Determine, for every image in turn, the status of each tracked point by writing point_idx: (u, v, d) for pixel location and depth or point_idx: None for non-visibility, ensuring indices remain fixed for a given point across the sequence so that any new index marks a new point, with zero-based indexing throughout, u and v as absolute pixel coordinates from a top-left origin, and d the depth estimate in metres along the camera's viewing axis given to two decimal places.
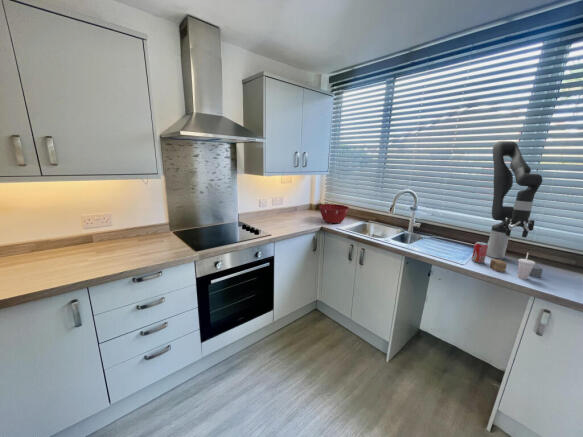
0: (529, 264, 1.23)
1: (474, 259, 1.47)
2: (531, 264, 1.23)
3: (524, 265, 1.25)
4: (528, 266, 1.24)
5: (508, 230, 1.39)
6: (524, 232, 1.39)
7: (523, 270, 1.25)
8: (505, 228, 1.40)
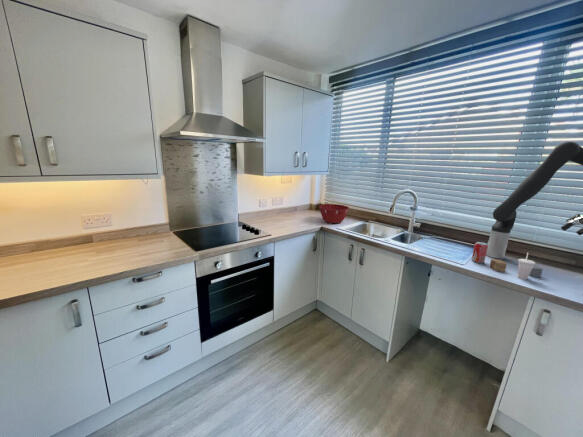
0: (529, 264, 1.23)
1: (474, 259, 1.47)
2: (531, 264, 1.23)
3: (524, 265, 1.25)
4: (528, 266, 1.24)
5: None
6: (568, 226, 1.22)
7: (523, 270, 1.25)
8: None
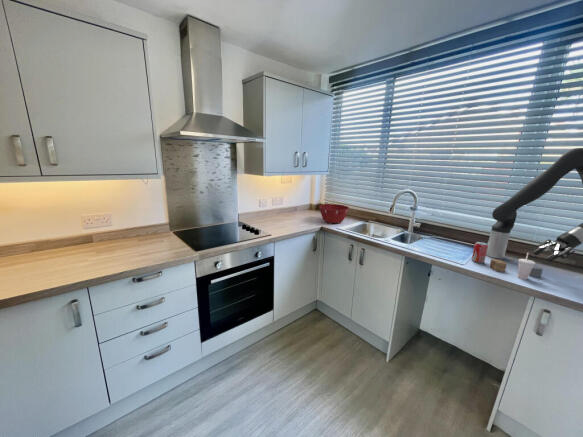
0: (529, 264, 1.23)
1: (474, 259, 1.47)
2: (531, 264, 1.23)
3: (524, 265, 1.25)
4: (528, 266, 1.24)
5: (556, 257, 1.18)
6: (540, 251, 1.27)
7: (523, 270, 1.25)
8: (559, 256, 1.17)
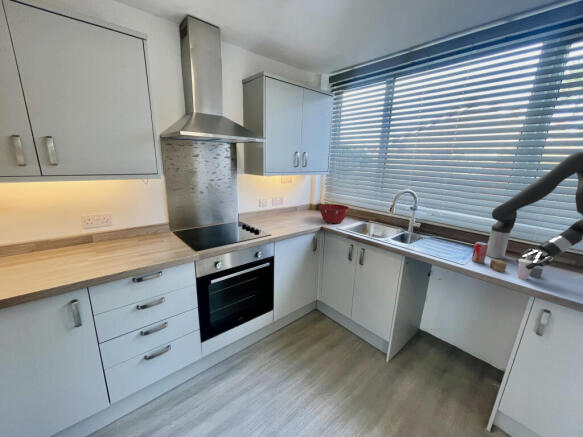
0: None
1: (474, 259, 1.47)
2: None
3: (524, 265, 1.25)
4: None
5: (535, 265, 1.21)
6: None
7: (523, 270, 1.25)
8: (538, 264, 1.20)
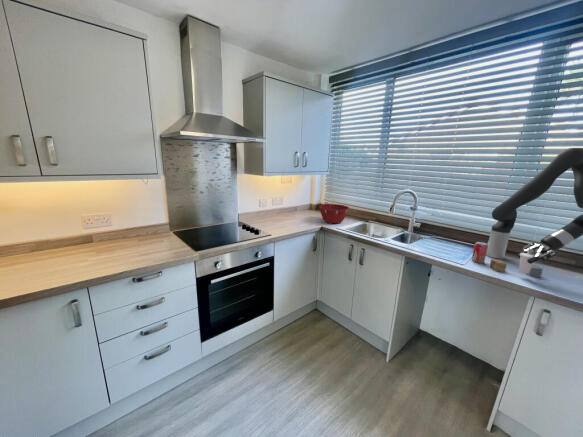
0: None
1: (474, 259, 1.47)
2: None
3: (526, 259, 1.24)
4: None
5: (537, 259, 1.21)
6: None
7: (525, 264, 1.25)
8: (540, 258, 1.19)
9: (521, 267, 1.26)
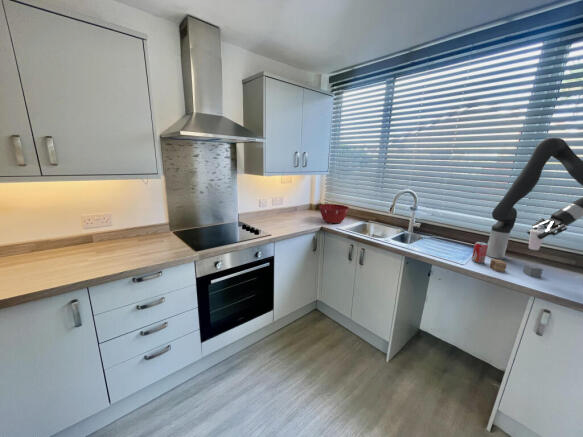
0: None
1: (474, 259, 1.47)
2: None
3: (535, 235, 1.22)
4: None
5: (547, 235, 1.18)
6: None
7: (534, 240, 1.22)
8: (550, 233, 1.17)
9: (531, 244, 1.24)
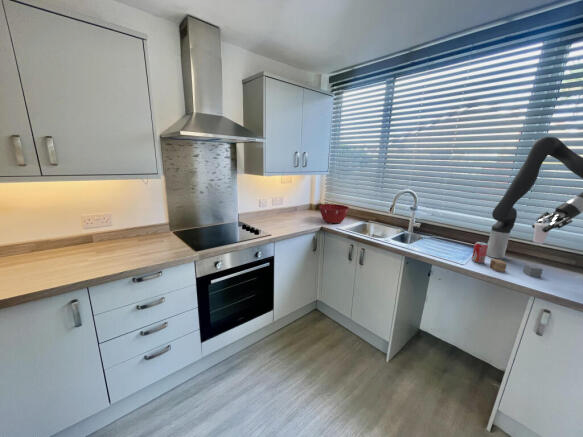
0: None
1: (474, 259, 1.47)
2: None
3: (540, 228, 1.21)
4: None
5: (552, 228, 1.18)
6: None
7: (539, 233, 1.22)
8: (555, 226, 1.17)
9: (536, 237, 1.24)
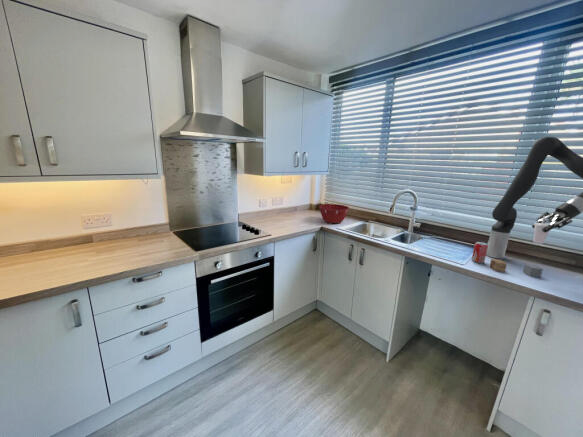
0: None
1: (474, 259, 1.47)
2: None
3: (540, 228, 1.21)
4: None
5: (552, 228, 1.18)
6: None
7: (539, 233, 1.22)
8: (555, 226, 1.17)
9: (536, 237, 1.24)
